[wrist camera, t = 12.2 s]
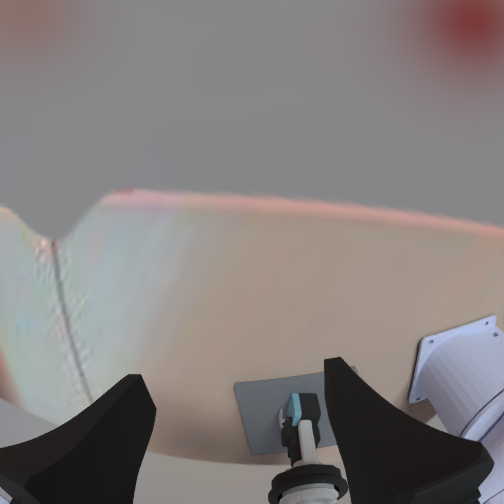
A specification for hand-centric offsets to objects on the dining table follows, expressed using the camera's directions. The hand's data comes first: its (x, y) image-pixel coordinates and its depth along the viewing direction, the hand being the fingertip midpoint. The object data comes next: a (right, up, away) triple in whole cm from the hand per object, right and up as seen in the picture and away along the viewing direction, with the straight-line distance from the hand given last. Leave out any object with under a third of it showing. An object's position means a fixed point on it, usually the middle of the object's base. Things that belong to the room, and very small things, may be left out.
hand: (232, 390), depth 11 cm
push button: (+4, -9, +13) cm, 16 cm away
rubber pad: (+5, -10, +13) cm, 17 cm away
